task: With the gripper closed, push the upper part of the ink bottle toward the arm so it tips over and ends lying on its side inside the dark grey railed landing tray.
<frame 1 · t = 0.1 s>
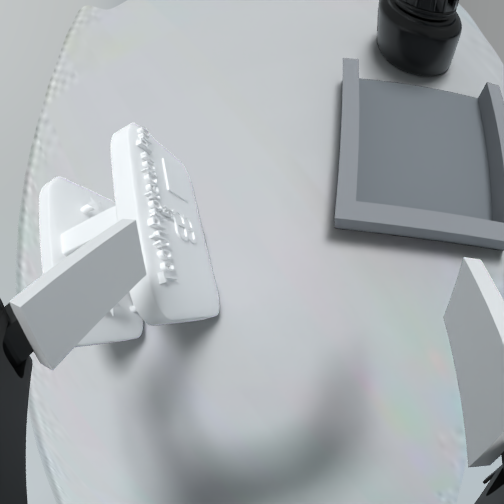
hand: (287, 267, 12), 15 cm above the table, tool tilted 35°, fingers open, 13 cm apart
ink bottle: (413, 51, 27), on the table
landing tray: (426, 155, 25), on the table
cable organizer: (165, 253, 31), on the table
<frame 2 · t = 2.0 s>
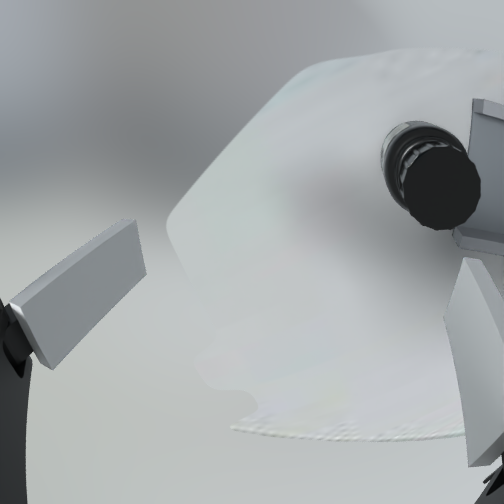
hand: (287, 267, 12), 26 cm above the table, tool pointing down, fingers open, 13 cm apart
ink bottle: (417, 159, 31), on the table
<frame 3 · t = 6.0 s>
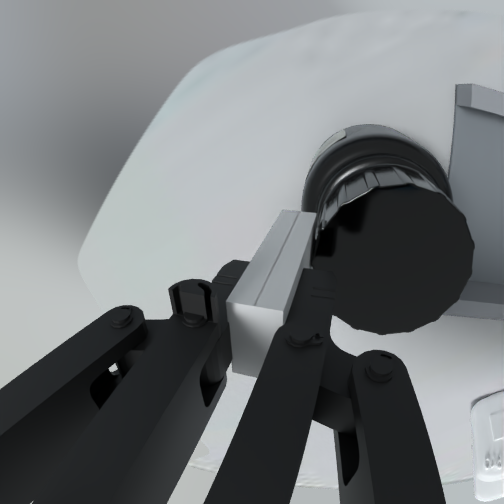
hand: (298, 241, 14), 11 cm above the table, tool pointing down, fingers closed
ink bottle: (369, 183, 22), on the table, touching gripper
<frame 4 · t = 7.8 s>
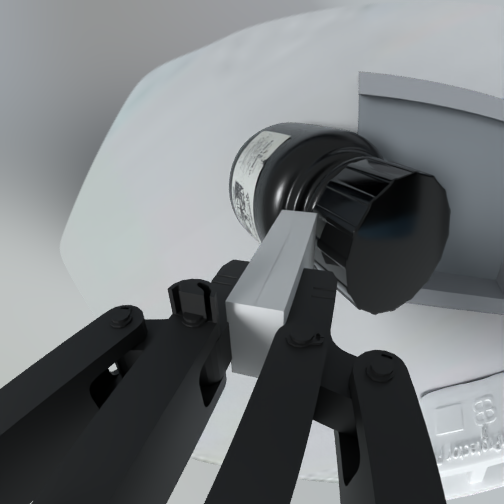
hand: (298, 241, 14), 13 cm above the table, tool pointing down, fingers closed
ink bottle: (283, 181, 23), point 3 cm above the table, touching gripper
landing tray: (450, 194, 21), on the table
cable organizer: (473, 398, 29), on the table
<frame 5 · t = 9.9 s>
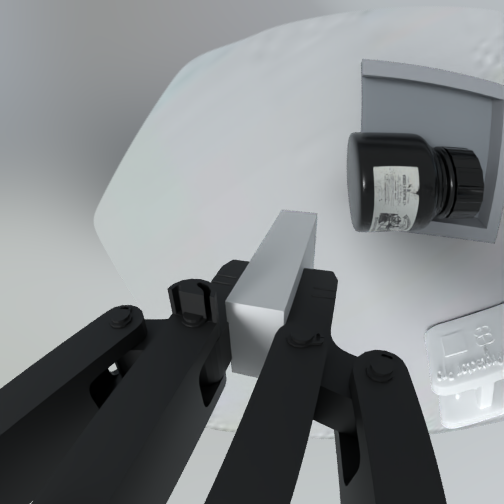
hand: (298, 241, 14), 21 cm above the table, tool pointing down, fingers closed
ink bottle: (348, 182, 27), point 6 cm above the table, touching landing tray
landing tray: (434, 149, 28), on the table
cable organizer: (473, 334, 36), on the table
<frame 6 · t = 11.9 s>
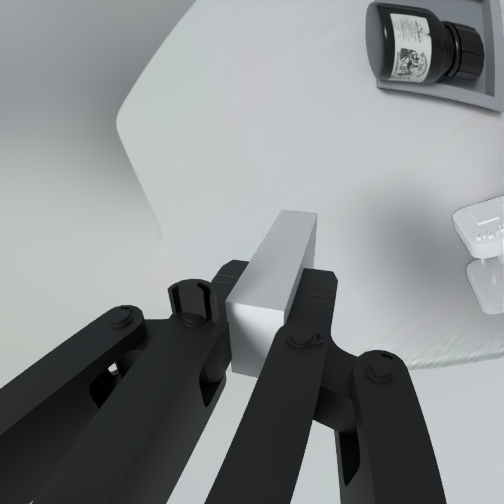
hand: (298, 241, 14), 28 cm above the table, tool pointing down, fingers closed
ink bottle: (370, 39, 26), point 6 cm above the table, touching landing tray
landing tray: (438, 35, 27), on the table
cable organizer: (497, 226, 35), on the table
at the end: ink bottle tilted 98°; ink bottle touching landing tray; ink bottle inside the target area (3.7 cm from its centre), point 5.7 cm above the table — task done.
